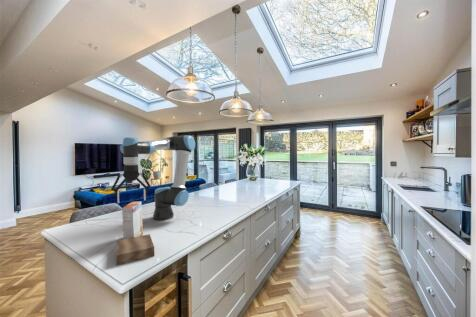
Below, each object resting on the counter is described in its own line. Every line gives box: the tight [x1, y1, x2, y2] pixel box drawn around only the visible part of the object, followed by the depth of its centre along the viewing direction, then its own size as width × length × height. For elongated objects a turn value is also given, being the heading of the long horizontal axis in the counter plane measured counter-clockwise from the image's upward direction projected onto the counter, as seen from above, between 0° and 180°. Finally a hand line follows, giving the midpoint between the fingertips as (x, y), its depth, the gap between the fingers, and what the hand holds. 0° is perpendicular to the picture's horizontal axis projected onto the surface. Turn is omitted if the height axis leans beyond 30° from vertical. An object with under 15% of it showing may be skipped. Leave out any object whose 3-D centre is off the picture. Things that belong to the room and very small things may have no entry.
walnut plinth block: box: [115, 233, 155, 266], centre depth 106 cm, size 16×18×5 cm
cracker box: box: [121, 200, 144, 239], centre depth 121 cm, size 14×6×21 cm, turn 6°
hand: (131, 201), depth 121 cm, fingers open, 13 cm apart
